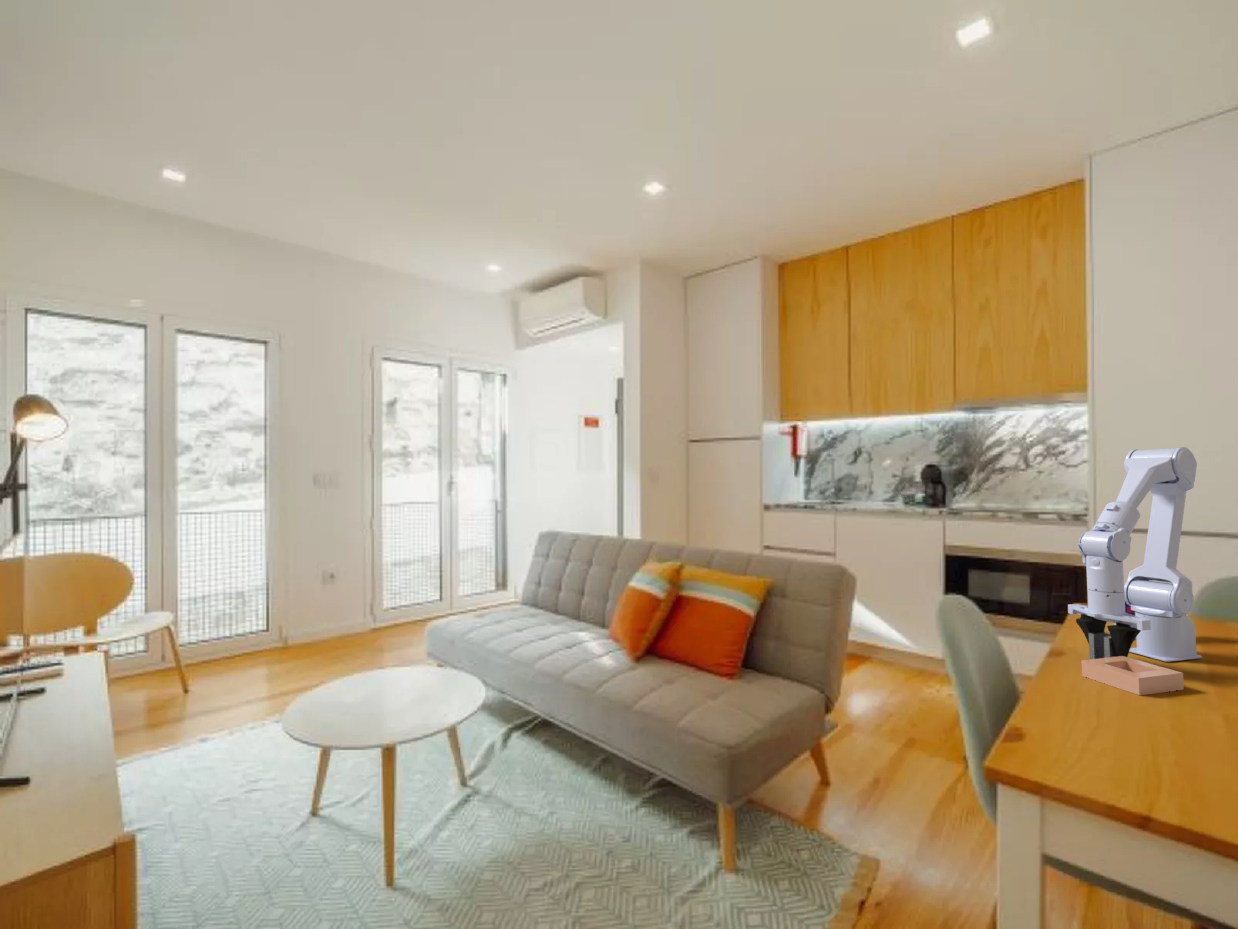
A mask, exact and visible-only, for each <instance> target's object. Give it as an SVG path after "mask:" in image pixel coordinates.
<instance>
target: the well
mask: <svg viewBox="0 0 1238 929" xmlns="http://www.w3.org/2000/svg"><path fill="white" fill-rule="evenodd" d="M1081 676H1082V677H1083V678H1086V677H1087V679H1090V680H1092V681H1095V680H1096V682H1099V683H1101V684H1104V683H1105V684H1104V685H1108V686H1110V687H1112V688H1117V689H1119V690H1123V691H1125V692H1127V693H1131V694H1134V695H1136V696H1145V695H1154V694H1162V693H1170V692H1177V691H1176V690H1178V691H1183V690H1185V689H1184V688H1185V687H1184V686H1185V685H1184V673H1183V672H1181V671H1177V670H1174V669H1170V668H1168V667H1164V666H1159V665H1156V664H1153V663H1149V662H1146V661H1142V660H1140V659H1139V660H1138V659H1134V658H1132V657H1129V656H1128V657H1125V656H1118V657H1109V658H1099V659H1090V658H1089V659H1083V660H1082V659H1081ZM1169 691H1170V692H1169Z"/></svg>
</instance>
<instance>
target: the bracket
mask: <svg viewBox="0 0 1238 929" xmlns="http://www.w3.org/2000/svg"><path fill="white" fill-rule="evenodd" d="M1088 650H1089V652H1088V653H1089V660H1090V659H1099V658H1109V657H1114V652H1113V642H1112V638H1111V635H1110V632H1109V631H1104V632H1094V633H1089V644H1088Z"/></svg>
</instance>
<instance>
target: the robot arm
mask: <svg viewBox="0 0 1238 929" xmlns="http://www.w3.org/2000/svg"><path fill="white" fill-rule="evenodd" d="M1197 464H1198V462H1197V460H1196V458H1195V454H1194V453H1193V452H1192V451H1191V450H1190V449H1189V448H1188V447H1185V446H1184V447H1183V446H1182V447H1173V448H1155V449H1154V448H1152V449H1149V448H1148V449H1132V450H1129V452H1128V453H1127V454H1126V456H1125V459H1124V460H1123V466H1124V467H1123V468H1124V472H1125V474H1126V476H1125V479H1124V480H1123V483H1122V486H1121V488H1120V490H1119V492H1118V495H1117V497H1116V499H1115V501H1111V502H1109V503H1107V504H1106V505H1105V507H1103V509H1102V511H1101V512H1100V515H1099V517H1098V518H1097V520H1096V522H1095V524H1094V526H1093V527H1092V529H1091V530H1088V531H1086V532H1083V533H1082V534H1081V535H1080V536H1079V540H1078V543H1077V548H1078V552H1079V554H1080V555H1081V557H1082V558H1081V559H1082V564H1083V566H1085V567H1086V568H1085V569H1086V586H1087V587H1086V588H1087V605H1084V604H1083V605H1082V604H1077V603H1072V604H1071V603H1070V604H1067V613H1068V614H1070V615H1079V616H1080V617H1079V618H1076V619H1075V623H1076V624H1077V625H1078V626H1079V628H1080V629H1081V631H1082V633H1083V634H1084V636H1085V638H1086V641H1087V643H1088V645H1089V633H1094V632H1105V628H1106V627H1107V630H1108V633H1110V635H1111V638H1112V642H1113V652H1114V657H1118V656H1125V657H1128V658H1129V653H1133V654H1137V655H1139V656H1144V657H1148V658H1151V659H1156V660H1158V661H1162V662H1166V663H1169V662H1179V661H1185V660H1186V661H1188V660H1197V659H1202V658H1203V657H1202V655H1200V654H1197V641H1196V638H1197V637H1196V627H1195V624H1194V622H1193V620H1192V619H1191V618H1190V617H1189V616H1187V615H1188V614H1189V613H1190V612H1191V611H1192V609H1193V607H1194V603H1195V599H1194V594H1193V581H1191V579H1190V578H1188V577H1187V576H1186V575H1184V574H1183V573H1182V572H1181V571H1179V570H1178V569H1177V566H1178V557H1179V550H1180V543H1181V535H1182V528H1183V519H1184V512H1185V507H1186V506H1185V504H1186V496H1187V492H1188V491H1190V490H1192V489H1193V488H1194V486H1195V481H1196V473H1197V466H1198V465H1197ZM1149 493H1151V494H1152V500H1151V501H1152V502H1151V507H1150V508H1151V509H1150V514H1149V515H1150V516H1149V522H1148V528H1147V529H1148V530H1147V535H1146V536H1147V538H1146V543H1145V549H1144V550H1145V551H1144V556H1143V557H1144V558H1143V564H1142V565H1139V566H1137V567H1135V568H1134V569H1132V570H1130V571H1128V576H1127V579H1126V581H1125V580H1124V579H1125V578H1124V561H1125V560H1126V559H1127V558H1128V557H1129V555H1130V552H1131V542H1132V537H1131V534H1132V532H1133V531H1134V528H1135V527H1136V526H1137V524H1138V521H1139V519H1140V518H1141V513H1140V511H1139V510H1138V508H1139V506H1140V505H1141V503H1142V502H1143V500H1144V499H1145V498H1146V496H1147V495H1148V494H1149ZM1124 582H1125V583H1124ZM1125 602H1126V603H1127V604H1128V605H1129V606H1131V610H1133V611H1135V616H1134V615H1131V614H1128V613H1125ZM1107 622H1108V623H1111V624H1113V623H1116V625H1107ZM1135 638H1136V640H1134V639H1135ZM1134 641H1136V647H1132V646H1133V643H1134Z"/></svg>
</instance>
